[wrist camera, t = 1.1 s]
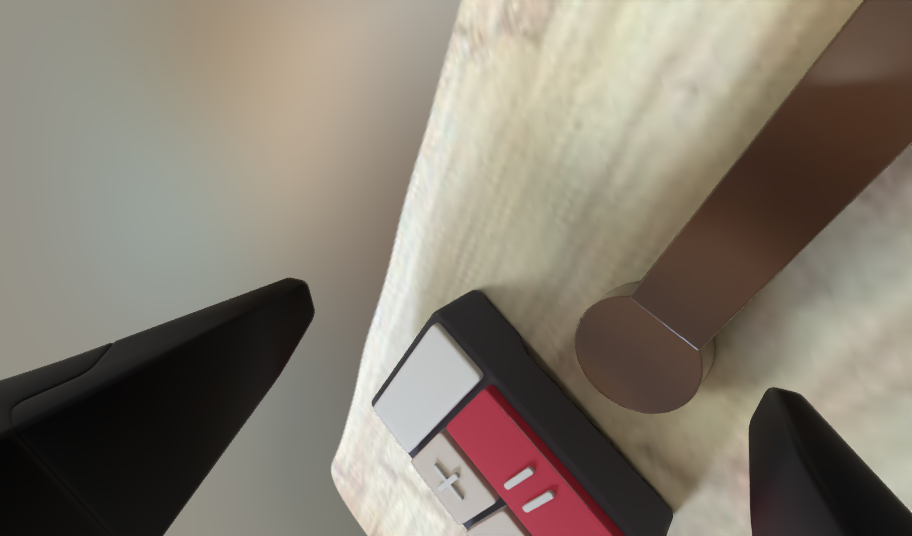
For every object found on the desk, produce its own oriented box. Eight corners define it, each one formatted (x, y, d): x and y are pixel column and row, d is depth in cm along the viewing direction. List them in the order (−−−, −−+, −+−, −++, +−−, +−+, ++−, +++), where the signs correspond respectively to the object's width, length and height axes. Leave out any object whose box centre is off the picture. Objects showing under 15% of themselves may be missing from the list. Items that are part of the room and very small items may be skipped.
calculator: (517, 617, 26) (360, 410, 30) (552, 559, 29) (405, 378, 33) (656, 578, 19) (425, 314, 23) (681, 507, 22) (475, 285, 26)
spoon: (873, -62, 13) (875, -96, 10) (1104, 10, 11) (1166, -13, 8) (574, 336, 23) (544, 360, 20) (664, 413, 20) (641, 449, 18)
